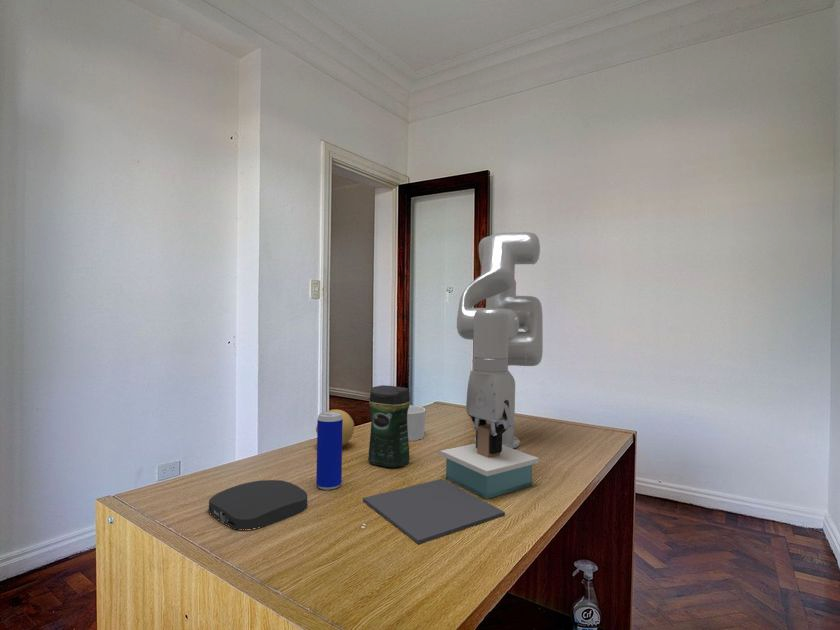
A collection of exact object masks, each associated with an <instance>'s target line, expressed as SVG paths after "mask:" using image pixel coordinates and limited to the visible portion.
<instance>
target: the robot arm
mask: <svg viewBox="0 0 840 630" xmlns="http://www.w3.org/2000/svg"><path fill="white" fill-rule="evenodd" d="M540 255H541V244H540V240H539V237H538V236H537V234H536V233H533V232H527V231H526V232H524V231H523V232H522V231H520V232H498V233H493V234H490V235H489V236H486V237H485V236H484V237H483V238H482V239H480V242H479V243H478V257H479V261H480V266H481V269H480V270H481V271H480V275H479V276H478V277H476V278H475V279H474V280H473V281H471V282H470V283H469V285H468V286H467V287H466V288H465V289H464V291H463V292H462V293H461V296H460V299H459V303H458V310H457V317H456V329H457V333H458V335H459V336H460V337H461V338H462V339H465V340H473V341H472V343H473V346H472V353H473V354H472V362H471V363H472V370H470V372H469V377H468V383H467V390H466V391H467V392H466V403H465V404H466V406H465V407H466V413H467V415H468V416H469V417H470V418H471V422H473V426H472V429H473V430H474V431H475V436H474V444H476V448H477V436H478V426H481V425H486V424H491V432H492V435H490V443H489V453H490V454H496V453H500V452H502V445H504V446H506V447H509V448H512V449H515V448H518V447H519V446H520V445H521V442H520V439H519V438H518V437H516V436H515V423H516V422H515V419H516V416H515V415H516V414H515V412H516V381H515V378H514V376H513V375H512V374H513V373H511V372H510V370H509V366H514V367H516V366H517V367H534V366H539V365H540V364H541V361H542V359H543V354H544V353H543V352H544V350H543V348H544V346H543V342H544V341H543V335H544V334H543V327H544V326H543V319H544V318H543V317H544V316H543V306H542V303H541V301H540V299H539V298H538V297H536V296H532V295H517V281H516V279H515V273H516V265H535V264H536V263H538V260H539V259H540ZM484 300H485V307H475V306H476V305H477V304H479V303H480V302H482V301H484ZM520 330H523V331H520ZM497 426H498V427H497Z"/></svg>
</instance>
